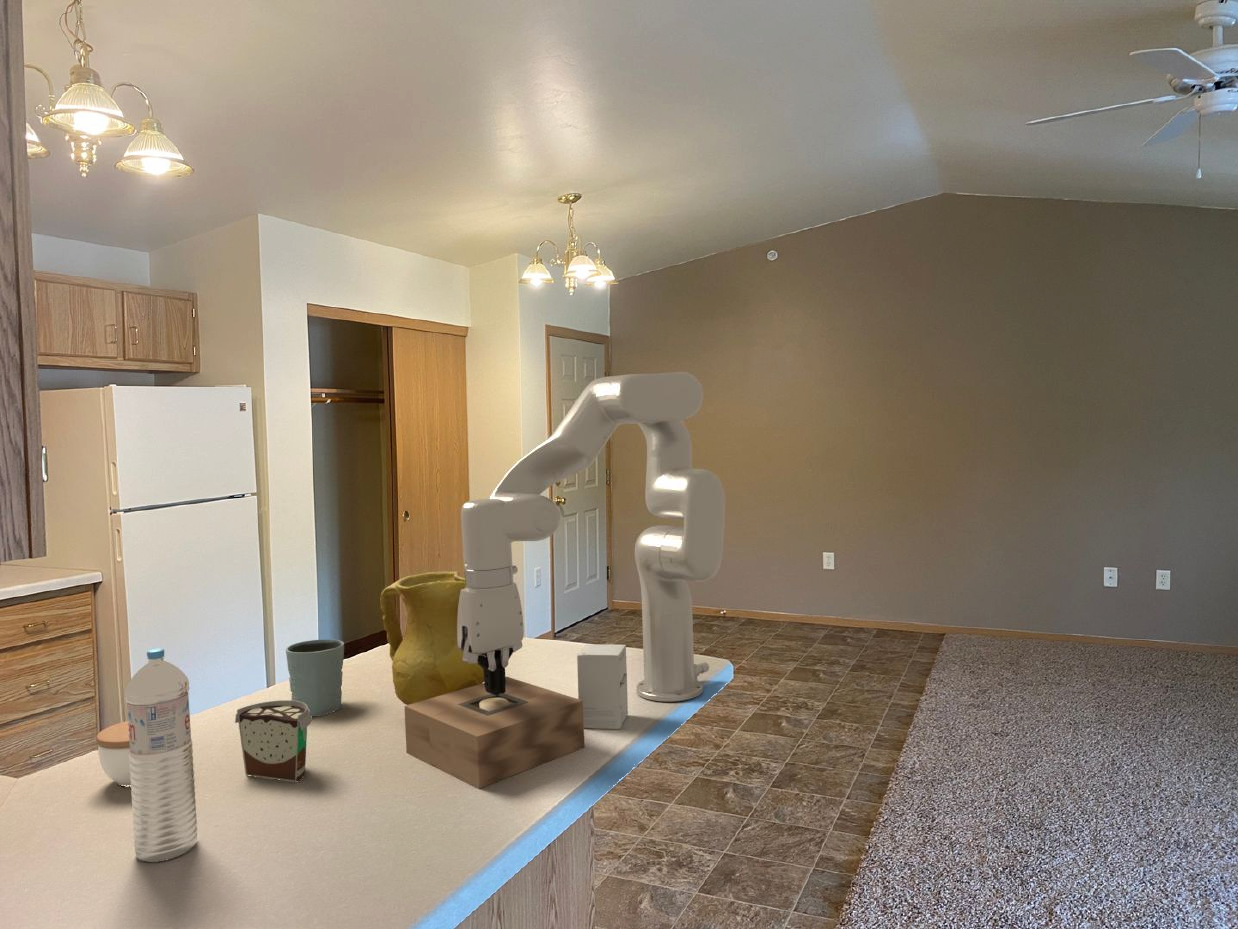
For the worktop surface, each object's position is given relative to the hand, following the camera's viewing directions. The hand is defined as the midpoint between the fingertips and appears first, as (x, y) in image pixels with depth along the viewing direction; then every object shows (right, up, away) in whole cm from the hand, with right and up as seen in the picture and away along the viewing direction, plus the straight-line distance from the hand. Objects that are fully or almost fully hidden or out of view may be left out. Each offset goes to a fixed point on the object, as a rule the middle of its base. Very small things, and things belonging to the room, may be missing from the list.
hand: (495, 692), depth 130 cm
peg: (0, -9, 0) cm, 9 cm away
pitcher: (-13, -9, +19) cm, 24 cm away
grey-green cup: (-37, -10, +23) cm, 44 cm away
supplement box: (+17, -8, +11) cm, 22 cm away
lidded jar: (-52, -12, -6) cm, 54 cm away
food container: (-31, -11, -5) cm, 33 cm away
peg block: (0, -9, 0) cm, 9 cm away
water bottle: (-36, -12, -28) cm, 48 cm away
